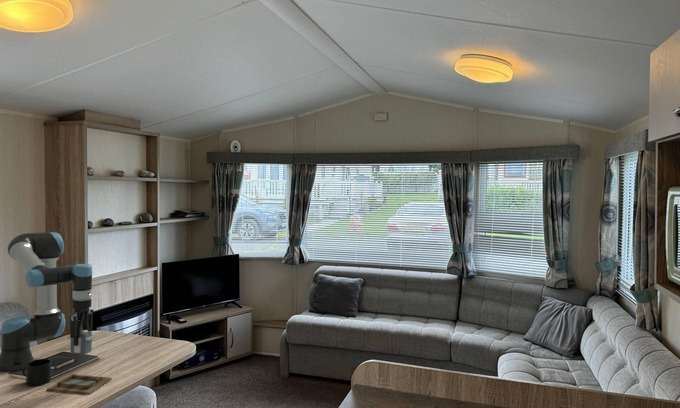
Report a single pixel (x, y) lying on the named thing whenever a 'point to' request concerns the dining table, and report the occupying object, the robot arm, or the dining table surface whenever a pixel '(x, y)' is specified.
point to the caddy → (79, 384)
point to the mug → (38, 372)
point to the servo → (83, 342)
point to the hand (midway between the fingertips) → (81, 350)
